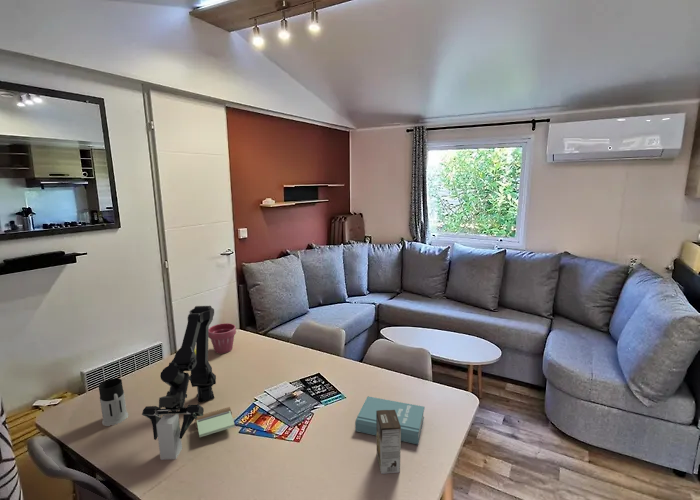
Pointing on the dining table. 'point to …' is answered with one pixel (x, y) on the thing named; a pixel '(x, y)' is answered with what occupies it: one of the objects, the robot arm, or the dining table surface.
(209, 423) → the trapdoor
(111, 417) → the glass holder
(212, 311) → the robot arm
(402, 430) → the book
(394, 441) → the coffee box
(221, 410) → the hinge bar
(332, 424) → the dining table surface
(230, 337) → the plant pot
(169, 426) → the block
